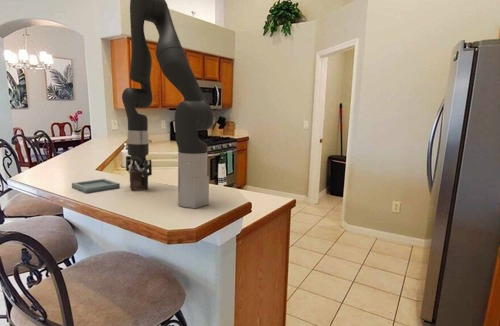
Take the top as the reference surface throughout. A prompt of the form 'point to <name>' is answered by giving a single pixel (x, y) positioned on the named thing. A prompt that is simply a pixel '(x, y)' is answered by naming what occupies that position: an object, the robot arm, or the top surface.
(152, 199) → the top surface
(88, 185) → the tray
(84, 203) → the top surface
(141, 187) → the box
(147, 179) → the robot arm
